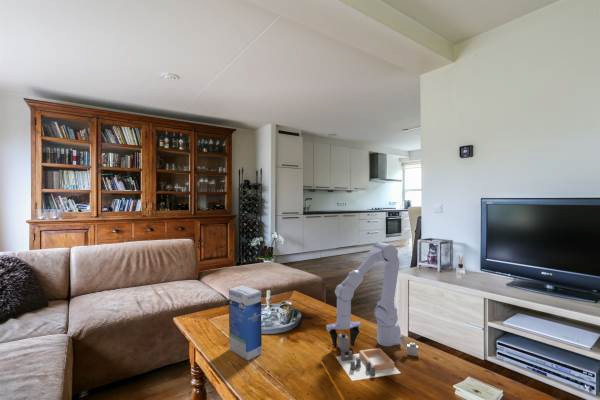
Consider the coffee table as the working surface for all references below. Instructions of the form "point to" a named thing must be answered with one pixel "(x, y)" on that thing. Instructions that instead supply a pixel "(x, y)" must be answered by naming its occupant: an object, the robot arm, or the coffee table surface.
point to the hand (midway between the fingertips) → (343, 346)
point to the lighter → (409, 347)
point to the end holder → (376, 351)
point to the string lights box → (245, 322)
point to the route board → (363, 366)
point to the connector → (343, 342)
